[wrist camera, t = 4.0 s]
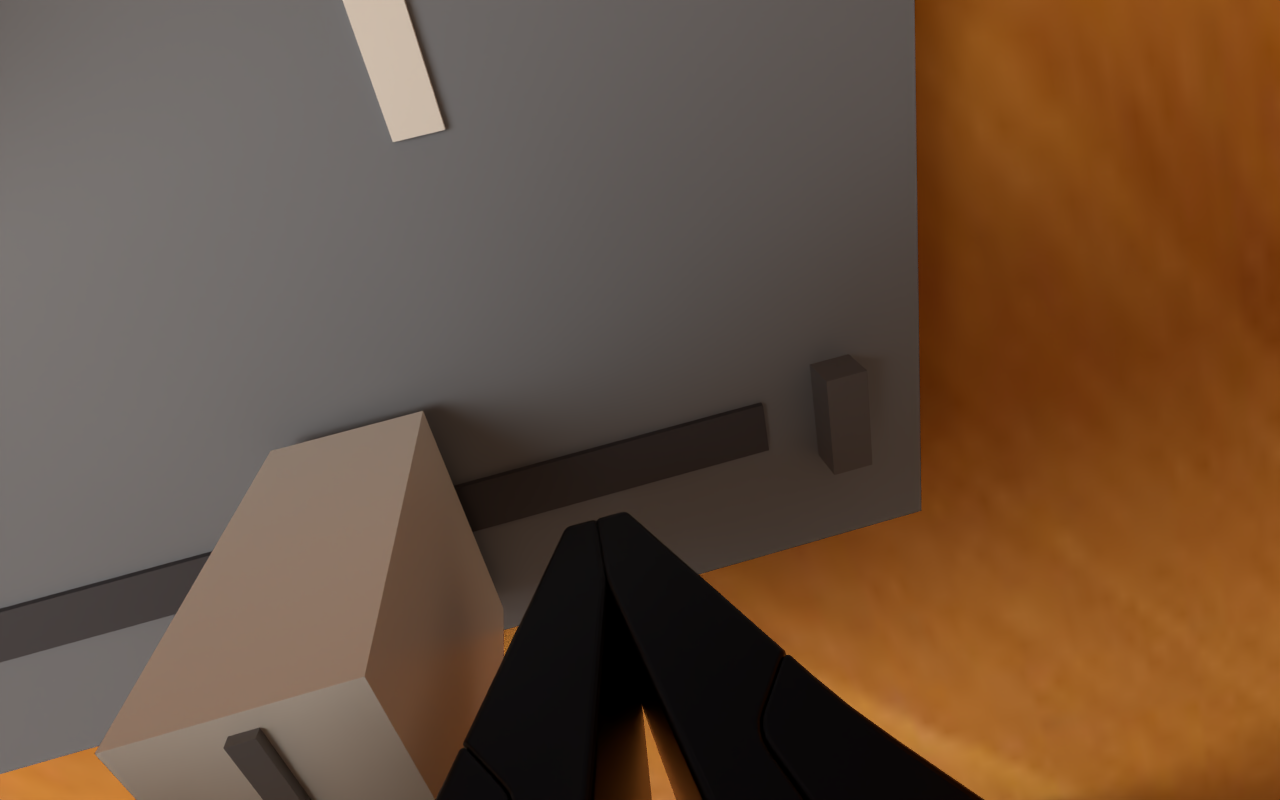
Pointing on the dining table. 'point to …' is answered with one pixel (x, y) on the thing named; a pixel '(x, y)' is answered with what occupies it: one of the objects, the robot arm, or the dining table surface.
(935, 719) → the dining table surface
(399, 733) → the fader
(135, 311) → the console
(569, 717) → the robot arm
